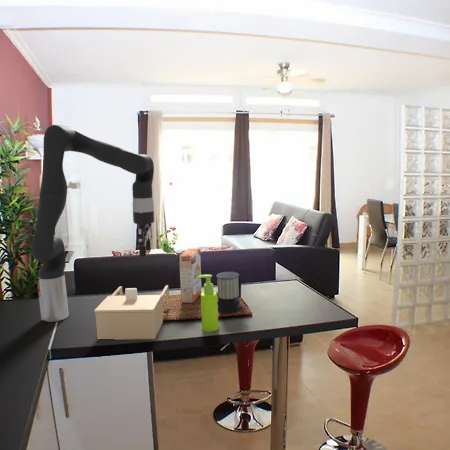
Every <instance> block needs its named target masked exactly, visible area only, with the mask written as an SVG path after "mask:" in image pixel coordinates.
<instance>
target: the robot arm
mask: <svg viewBox="0 0 450 450" xmlns="http://www.w3.org/2000/svg"><path fill="white" fill-rule="evenodd" d="M65 152H74V153H75V152H76V153H81V154H85V155H88V156H90V157H92V158H94V159H96V160H98V161H99V162H102V163H105V164H107V165H111V166H114V167H118V168H120V169H122V170H124V171H126V172H129V173H131V174H134V175H135V179H134V182H133V183H132V218H133V219H132V220H133V221H132V222H133V224H134V225H138V228H136V246H138V251H139V256H140V257H146V255H147V251H151V250H152V245H151V244H152V243H151V241H152V238H153V233H152V232H153V231H152V230H153V229H152V228H153V227H152V224H153V223H155V208H154V207H155V206H154V199H153V180H154V172H155V165H154V161H153V158H152V157H151V156H149V155H148V154H143V153H142V154H140V153H135V152H131V151H128V150H127V149H126V148H124V147H121V146H118V145H115V144H111V143H108V142H106V141H100V140H97V139H95V138H92V137H89V136H87V135H84V133H81V132H79V131H78V130H75V129H74V128H72V127H70V126H66V125H61V124H59V125H58V124H51V125H49V126H48V127H47V128H46V129H45V132H44V136H43V160H42V161H43V164H42V173H41V175H42V176H41V183H40V190H39V199H38V209H37V210H38V211H37V218H36V225H35V228H34V233H33V238H32V242H31V247H30V248H31V254H32V256H33V258H34V259H35V260H36V261H37V262H40V263H42V265H41V267H40V268H39V270H38V273H37V274H38V281H39V282H38V283H39V289H40V296H39V297H38V302H39V309H40V310H39V311H40V317H41V321H44V322H47V323H53V322H59V321H63V320H65V319H67V318H68V317H69V313H70V312H69V307H68V306H69V305H68V304H69V303H68V294H67V286H66V277H65V276H66V275H65V269H66V264H67V263H66V248H65V243H64V241H63V239H62V238H61V237H60V236H59V235H57V234H55V231H56V229H57V228H56V227H57V225H58V222H59V220H60V218H61V216H62V214H63V212H64V210H65V208H66V203H67V195H68V182H67V180H66V175H65V172H64V164H63V163H64V157H65Z"/></svg>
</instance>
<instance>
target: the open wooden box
mask: <svg viewBox="0 0 450 450" xmlns="http://www.w3.org/2000/svg"><path fill="white" fill-rule="evenodd" d="M169 293H170V292H169V285H168V284H166V285H165V286H164V288H163V290H162V292H161V293H160V295H162V298H161V299H160V301H159V303H158V305H157V306H156V308H155V310H154V312H104V313H95V324H96V325H95V326H96V334H97V335H96V336H97V340H99V339H114V340H155V339H156V338H157V336H156V335H158V334H157V333H159V331H160V329H161V328H162V324H163V322H164V321H163V306H162V304H163V303H162V302H163V301H162V300H163V298H164V296H165V299H166V301H165V302H166V310H170V294H169ZM118 294H119V296H122V295H123V294H124V293H123V286H118V287H117V289H116V290H115V291H114V292H113V293H112V294H111V295H110V296H118ZM99 341H100V340H99Z"/></svg>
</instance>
